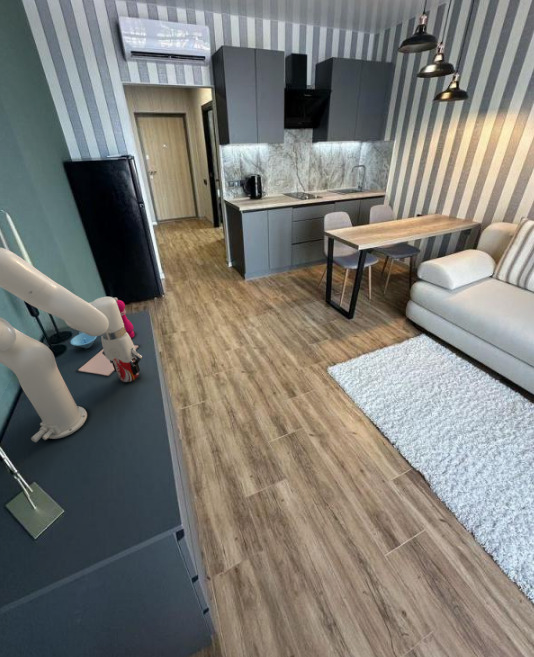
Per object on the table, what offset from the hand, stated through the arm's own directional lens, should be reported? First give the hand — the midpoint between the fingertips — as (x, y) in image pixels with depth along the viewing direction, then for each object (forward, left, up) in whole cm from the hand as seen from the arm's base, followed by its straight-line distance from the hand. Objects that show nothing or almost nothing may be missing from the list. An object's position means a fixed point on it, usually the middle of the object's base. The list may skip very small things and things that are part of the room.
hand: (127, 370), depth 114 cm
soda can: (0, 0, -3) cm, 3 cm away
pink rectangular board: (+9, +16, -3) cm, 19 cm away
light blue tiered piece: (+17, +34, -3) cm, 38 cm away
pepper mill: (+25, +19, -3) cm, 32 cm away
